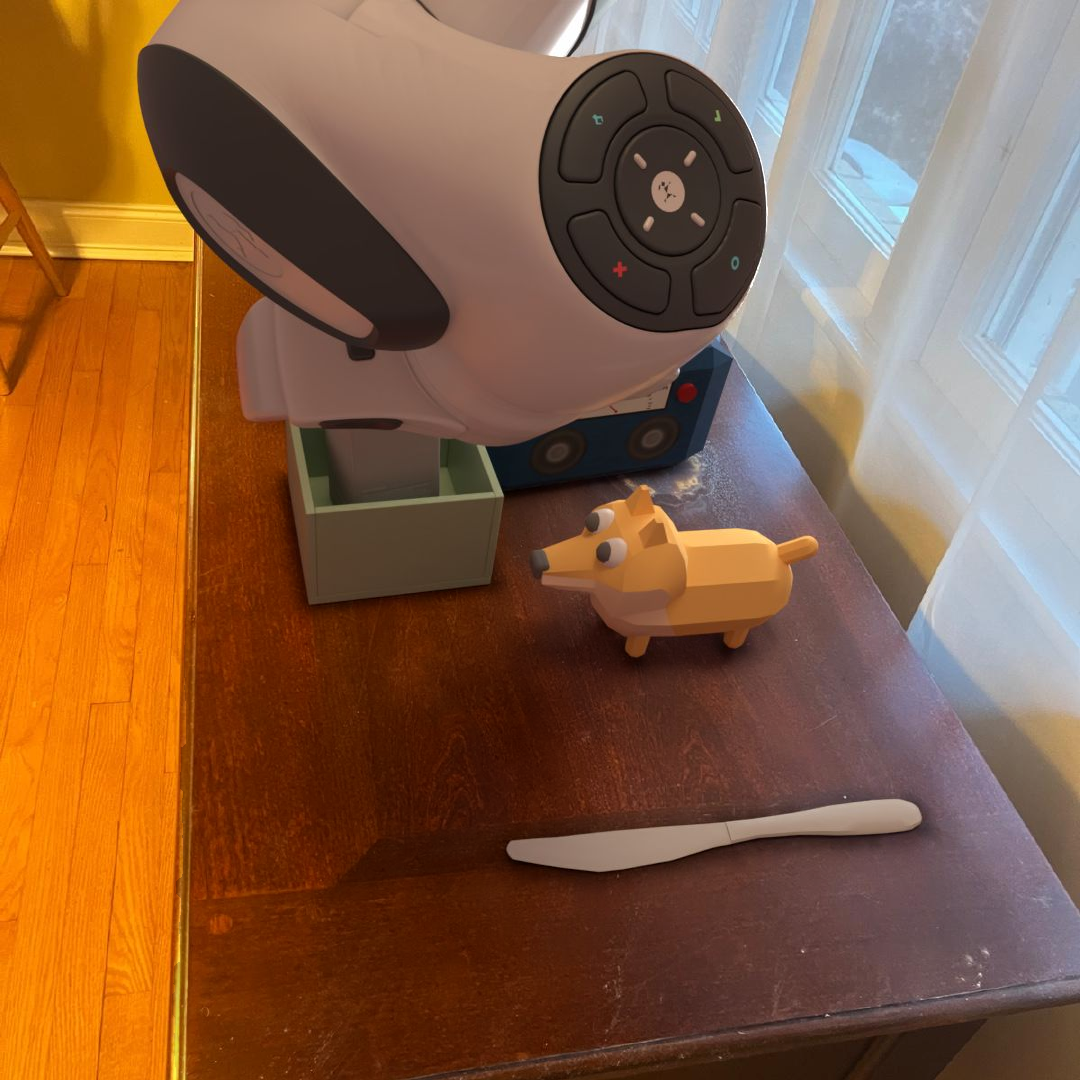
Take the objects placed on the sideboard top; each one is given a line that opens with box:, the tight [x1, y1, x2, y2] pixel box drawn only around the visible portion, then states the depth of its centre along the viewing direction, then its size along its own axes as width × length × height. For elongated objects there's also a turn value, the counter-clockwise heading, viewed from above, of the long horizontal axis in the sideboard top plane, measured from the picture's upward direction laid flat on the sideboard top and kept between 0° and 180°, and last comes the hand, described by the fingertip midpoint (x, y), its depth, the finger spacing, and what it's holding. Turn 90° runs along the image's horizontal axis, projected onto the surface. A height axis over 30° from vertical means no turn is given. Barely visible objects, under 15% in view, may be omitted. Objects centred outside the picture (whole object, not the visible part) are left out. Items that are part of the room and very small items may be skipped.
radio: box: [485, 338, 734, 492], centre depth 78 cm, size 21×9×20 cm, turn 112°
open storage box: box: [284, 420, 505, 606], centre depth 72 cm, size 13×13×9 cm
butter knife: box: [505, 798, 923, 873], centre depth 60 cm, size 1×27×3 cm
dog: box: [528, 484, 819, 658], centre depth 67 cm, size 8×20×13 cm, turn 103°
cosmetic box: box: [325, 429, 440, 506], centre depth 69 cm, size 8×7×16 cm
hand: (431, 391), depth 53 cm, fingers open, 8 cm apart
